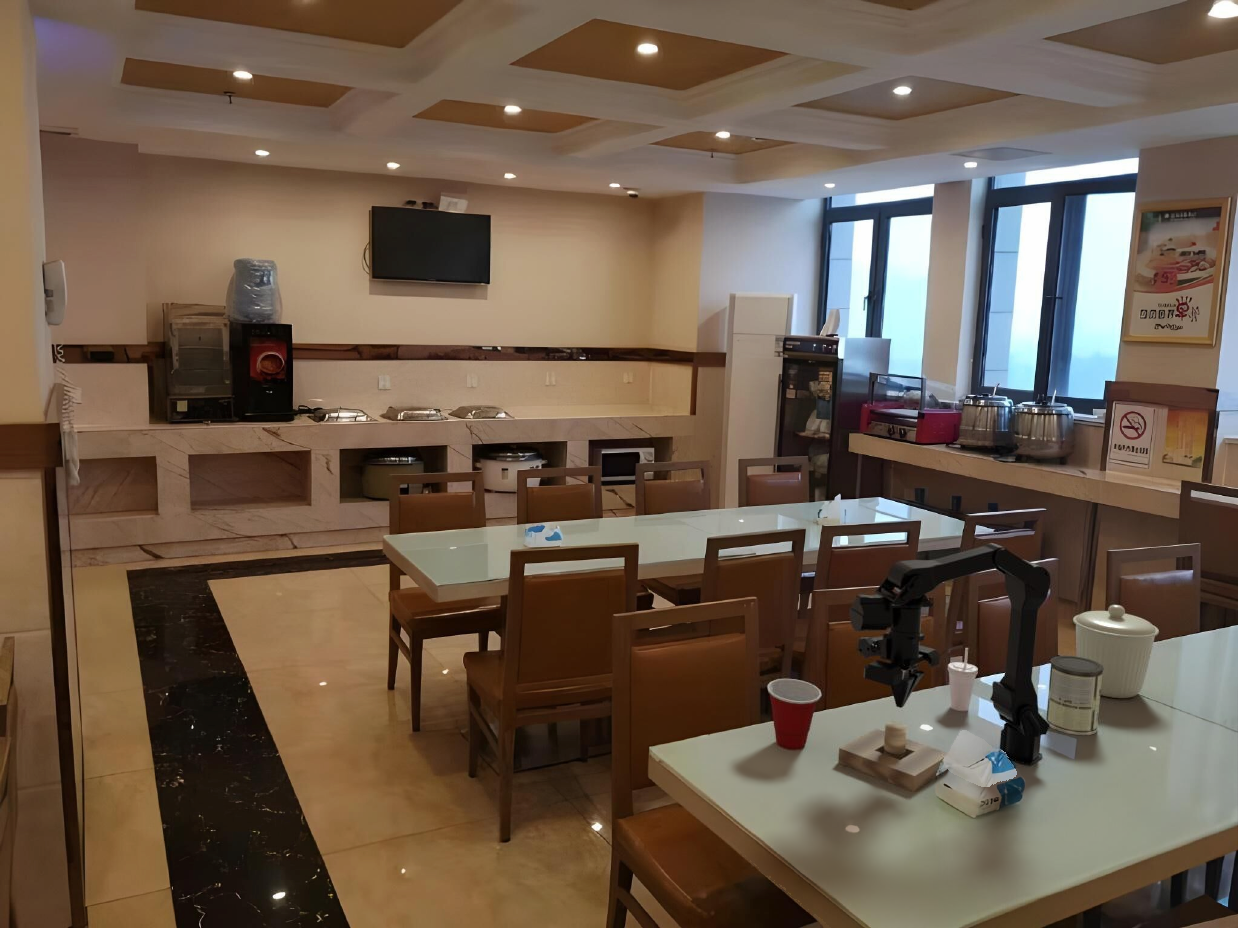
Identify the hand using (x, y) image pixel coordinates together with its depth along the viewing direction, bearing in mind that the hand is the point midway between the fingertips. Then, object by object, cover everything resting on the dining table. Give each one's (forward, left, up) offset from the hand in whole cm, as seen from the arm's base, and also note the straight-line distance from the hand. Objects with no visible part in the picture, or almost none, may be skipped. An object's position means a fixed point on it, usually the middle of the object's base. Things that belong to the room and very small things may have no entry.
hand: (899, 706), depth 185 cm
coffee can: (-16, -46, -12) cm, 51 cm away
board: (0, +1, -12) cm, 12 cm away
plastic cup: (+19, +8, -12) cm, 24 cm away
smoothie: (+5, -37, -12) cm, 40 cm away
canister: (-14, -75, -12) cm, 78 cm away
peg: (0, +1, -12) cm, 12 cm away
